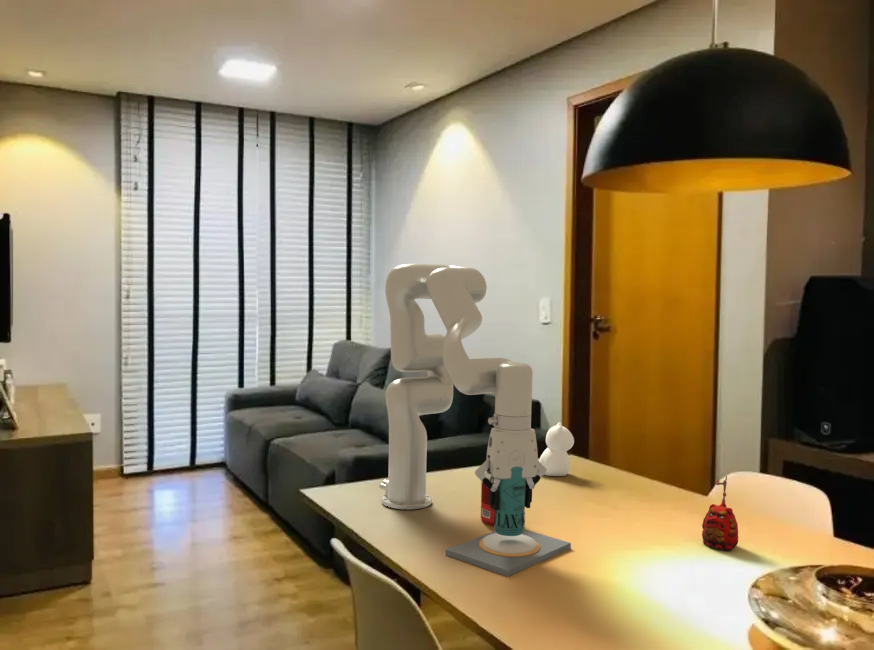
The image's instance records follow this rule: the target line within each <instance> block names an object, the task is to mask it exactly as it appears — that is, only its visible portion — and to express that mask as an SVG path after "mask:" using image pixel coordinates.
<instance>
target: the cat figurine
mask: <svg viewBox="0 0 874 650" xmlns="http://www.w3.org/2000/svg"><path fill="white" fill-rule="evenodd" d="M545 443H546V446H547V447H546V449H544V451H542V454H541V455H540V457H539V459H538V461H539V462H540V463H541V464H542V465H543V466H544V467H545V468H546V469H547V471H546V472H545V474H544V475H543V476H547V477H565V476H568V474H569V472H570V470H571V469H570V468H571V460H570V456H569V454H568V451H569V450H570V449H571V448H572V447H573V446H574V443H575V438H574V435H573V433H572V432H571V431H570V430H569V429H568V428H567V427H565V426H563V425H562V422H561V421H559V422H558V423H556V424H555V425H553V426H552V427H550V428H549V429H548V430H547V432H546V436H545Z"/></svg>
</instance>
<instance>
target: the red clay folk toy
mask: <svg viewBox="0 0 874 650" xmlns="http://www.w3.org/2000/svg"><path fill="white" fill-rule="evenodd" d="M727 482H728V476H727V475H725V478H724V480H723V482H722V481H720V480H716V486H720V485H722V486H723V492H722V496H723V497H722V500H721V503H720V504H719V505H718V504H715V503H712V504H710V505H709V508H708V511H707V512H706V513H705V516H704V518H703V521H702V523H701V524H702V532H701V537H702V543H703V545H706V546H707V547H711V548H715V549H716V550H718V551H726V552H727V551H728V552H731V551H732V550H733V549H734V548H736V547H737V546H738V543H739V525H738V521H737V519H736V515H735V514H734V512H733V508H731V507H728V506H727V505H726V497H727V493H726V489H727V484H728V483H727Z"/></svg>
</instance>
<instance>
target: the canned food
mask: <svg viewBox="0 0 874 650" xmlns="http://www.w3.org/2000/svg"><path fill="white" fill-rule="evenodd" d="M484 475H485V476H486V478H487V479H488V480H489V478H490V476H491V474H488V473H487V471H486V472H485V474H484ZM488 491H489V489H488V488H487V487H486V486H485V485H484V484H483V483H482V482H481V492H480V518H481V519H480V520H481V522H482V523H483V524H485V525H488V526H492V527H494V517H495V515H494V514H495V513H494V512H495V510H493V509H492V508H491V507H490V505H489V504H488Z"/></svg>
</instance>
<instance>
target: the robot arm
mask: <svg viewBox="0 0 874 650" xmlns="http://www.w3.org/2000/svg"><path fill="white" fill-rule="evenodd" d="M384 288H385V298H386V304H387V306H388V313H389V317H390V318H389V319H390V325H389V326H390V327H389V329H390V358H391V363H392V366H393V368H394V369H395V371H398V372H402V373H415V372H416V373H417V372H426V373H427V375H426V376H409V377H403V378H402V377H401V378H398V379H395V380H393V381H392V382H391V383H389V384H388V386H387V388H386V390H385V404H386V411H387V417H388V418H387V419H388V478H387V479H384V480H383V481H382V482H381V483H380V484H379V487H378V488H379V489H380V490H384V491H385V492H384V495H382V496H381V503H382V505H384V506H385V507H387V506H388V507H387V508H390V507H391V508H390V509H395V510H396V509H397V510H404V509H405V511H406V510H409V511H410V510H419V509H425V508H427V507H429V506H431V504H432V502H433V501H432V500H433V499H432V497H431V496H430V495H429V494H427V457H428V456H427V451H428V435H427V434H428V433H427V430H426V427H425V425H424V423H423V422H422V421H421V419H420V416H424V415H430V414H431V415H432V414H440V413H444V412H446V411H448V410H449V409H450V408H451V406H452V404H453V399H454V387H455V389H457V390H458V391H459V393H462V394H464V395H468V396H472V395H473V396H475V395H485V394H495V395H494V396H495V397H494V398H495V399H494V413H493V416H492V417H488V420H487V423H488V425H492V426H494V427H491V430H490V434H489V438H488V442H487V443H488V445H487V450H486V460H485V461H484V462H483V463H482V464H481V465H480V466H478V468H477V469H476V470H475V471H474V475H475V476H476V478H478V480H479V481H480V483H481V484H482V483H483V484H484V485H485V486H486V487H487V488H488V489H489V491H488V504H489V505H490V507H491V508H492V509H493V510H495V511H497V510H498V506H499V492H498V491H497V487H498V485H499V483H500V481H501V480H507V479H510V478H511V469H512V468H513V467H516V466H518V467H521V468H523V471H522V478H526V488H525V490H526V491H525V509H530V508H531V503H532V501H533V489H535V487H536V485H537V484H538V482H539V481H540V480H541V479H542V477H543V476H545V475H544V474H545V472H546V471H547V469H546V468H545V467H544V466H543V465H542V464H541V463H540V462H539V458H538V457H539V456H538V455H539V454H538V444H537V437H536V431H535V429H534V428H532V402H533V401H532V399H533V376H534V375H533V367H532V366H531V365H530V364H527V363H525V362H524V363H523V362H515V361H512V360H510V359H508V358H503V357H491V358H490V357H489V358H488V357H486V358H470V357H469V356H468V354H467V352H466V350H465V347H464V345H463V342H462V340H464V339H466V338H467V337H469V336H471V335H472V334H473V333H475V332H476V331H477V330H478V329H479V328H480V326H481V325H482V323H483V316H482V314H481V313H482V312H480V309H479V307H478V306H477V305H476V304H478V303H480V302H481V301H483V299H484V298H485V296H486V293H487V281H486V279H485V276H484V275H483V273H481V271H479V270H478V269H476V268H472V267H464V266H459V265H458V266H456V265H450V264H431V263H429V264H428V263H405V264H400V265H397V266H395V267H393V268H392V269H391V270H390V271H389V273H388V275H387V278H386V280H385V287H384ZM419 299H421V300H423V299H424V300H426V299H427V300H431V301H432V303H433V305H434V307H435V309H436V311H437V313H438V315H439V318H440V319H441V321H442V323H443V325H444V327H445V330H446V334H445V335H442V334H441V333H434V332H433V333H431V332H429V333H426V331H425V315H424V313H423V310H422V308H421V307H420V305H419V303H418V302H417V301H416V300H419ZM486 472H487V473H488V474H491V476H490V478H489V480H488V479H487V478H486V476H485V475H484V474H485V473H486Z"/></svg>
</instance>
